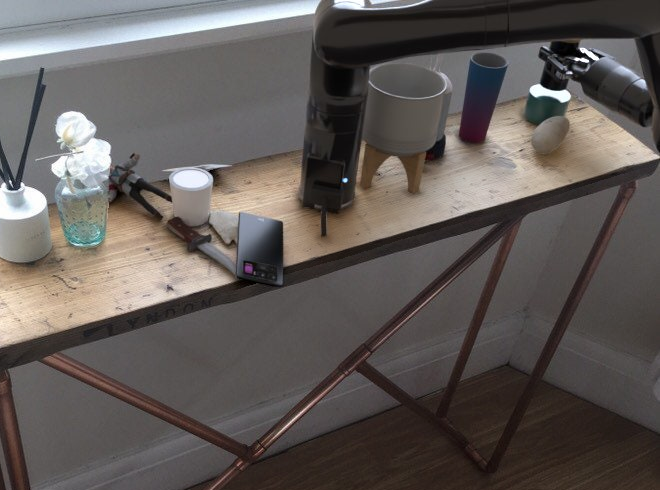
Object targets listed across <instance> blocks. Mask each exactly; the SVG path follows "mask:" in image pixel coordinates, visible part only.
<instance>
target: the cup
mask: <svg viewBox="0 0 660 490" xmlns="http://www.w3.org/2000/svg"><path fill="white" fill-rule="evenodd" d="M509 63H510V62H509V60H508V59H507V57H505V56H503V55H502V54H499V53H496V52H491V51H476V52H474V53H472V54H471V55H470V57H469V63H468V64H469V65H468V70H467V77H466V85H465V89H464V90H465V91H464V98H463V103H462V110H461V117H460V122H459V123H460V124H459V130H458V136H459V138H460V139H461V140H462V141H465V142H468V143H473V144H479V143H483V142H484V141H485V140H486V137H487V135H488V130H489V128H490V125H491V121H492V118H493V115H494V111H495V109H496V108H495V107H496V105H497V102H498V99H499V95H500V92H501V89H502V86H503V83H504V79H505V76H506V73H507V70H508V67H509Z"/></svg>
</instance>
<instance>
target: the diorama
mask: <svg viewBox="0 0 660 490" xmlns="http://www.w3.org/2000/svg"><path fill="white" fill-rule="evenodd" d="M232 166H233V165H232V164H231V165H230V164H215V163H213V164H212V163H211V164H200V165H195V166H182V167H174V168H167V169H163V170H161V171H162V172H174V171H176V170H178V169H182V168H199V169H203V170H209V169H217V168H218V169H219V168H225V167H232Z"/></svg>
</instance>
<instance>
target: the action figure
mask: <svg viewBox="0 0 660 490" xmlns="http://www.w3.org/2000/svg"><path fill="white" fill-rule="evenodd" d="M128 158H129V160H128V161H124V162H122V163H121V162H119V164H115V166H113V165H112V164H111V166H110V173H109V174H110V175H108V177H109V178H108V192H109V193H108V196H107V197H108V202H107V203H112V202H113V201H114V199H115V198H116V197H117V193H119V192H120V193H124V194H126V196H128V197H129V198H131V199H132V200H134V201H135V202H137V203H138V204H139V205H141V206H142V208H143V209H145V210H146V211H147V212H148V213H150V214H151V215H152V216H154V218H155V219H157V220H159V221H161V220H163V219H164V216H163V215H162V214H161V212H160V211H158V209H156V208H155V207H154V206H153V205H152V204H150V203H149V202H148V201H147V200H146V198H145V197H144V196H143V195H142V194H141V193H142V191H146V192H150V193H152V194H154V195H156V196H157V197H160V198H161V199H164V200H165V201H167V202H170V204H172V197H171V194H169V193H167V192H165V191H164V190H162V189H160V188H159V187H156V186H155V185H153V184H151V183H150V182H148V181H147V180H145V179H144V178H143V177H141V176H139V175H138V174H136V171H135V170H134V169H133V168H134V167H137V165H138V164H139V162H140V160H141V155H140V154H139V153H137V154H136V153H135V152H133V153H132V154H131V155H130V156H129V157H128Z"/></svg>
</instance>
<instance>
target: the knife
mask: <svg viewBox="0 0 660 490" xmlns="http://www.w3.org/2000/svg"><path fill="white" fill-rule="evenodd" d="M166 221H167V225H166V226H167V229H168V230H169V231H170V232H172V233H173V234H174V235H176V236H177V237H179V238H180V239H182V240H183V241H184V242H186V243H188V244H187V245H186V250H187V251H188V252H194V251H196V250H198V249H199V250H200V251H202V252H203V253H204V254H206V255H207V256H209V257H210V258H212V259H213V260H215V261H216V262H217V263H218V264H221V265H222V266H224V267H225V268H226V269H228V270H229V271H230V272H231V273H232V274H233V275H234V276H236V263H235V262H234V261H233V260H232V259H231V258H230V257H229V256H228V255H227V254H225V253H224V252H223V251H221V250H220V249H219V248H217V247H216V246H214V245H213V244H211V243H210V242H212V238H213V235H212V234H211V233H208V234H205V235H203V234H200V233H199V231H198V230H195V229H193V228H192V226H188V225H186V224H185V223H184V222H183V221H182V220H181V218H179V217H174V216H173V217H171V218H170V219H168V220H166Z"/></svg>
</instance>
